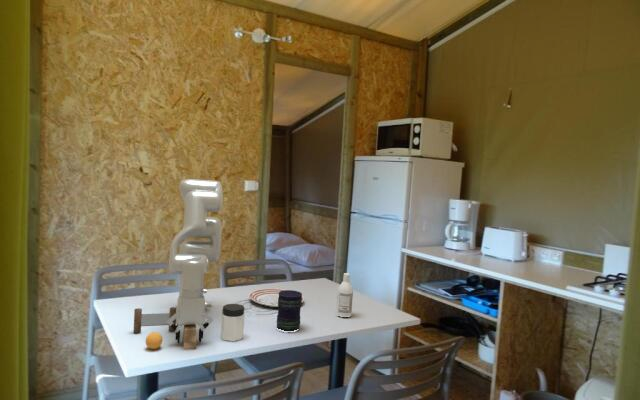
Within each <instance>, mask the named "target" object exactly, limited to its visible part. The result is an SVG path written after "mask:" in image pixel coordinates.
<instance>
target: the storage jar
mask: <svg viewBox="0 0 640 400" xmlns="http://www.w3.org/2000/svg"><path fill="white" fill-rule="evenodd" d="M283 290H284V291H280V292H279V297H278V308H277V311H278V312H277V316H276V327H277V328H278V329H281V330H284V331H294V330H297V329H299V328H300V327H301V308H302V303H303V302H302V296H303V293H302V292H300V291H298V290H292V289H290V290H289V289H283Z"/></svg>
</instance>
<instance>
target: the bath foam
mask: <svg viewBox="0 0 640 400" xmlns="http://www.w3.org/2000/svg"><path fill="white" fill-rule="evenodd" d="M342 277H343V278H342V282H341V283H340V285H339V286H338V289H337V301H336V312H335V313H337V314H338V315H341V316H350V315H351V316H352V311H353V310H352V309H353V299H354V298H353V297H354V289H353V286H352V284H351V282H350V280H351V274H350V273H348V272H344V273H343V276H342Z"/></svg>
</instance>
